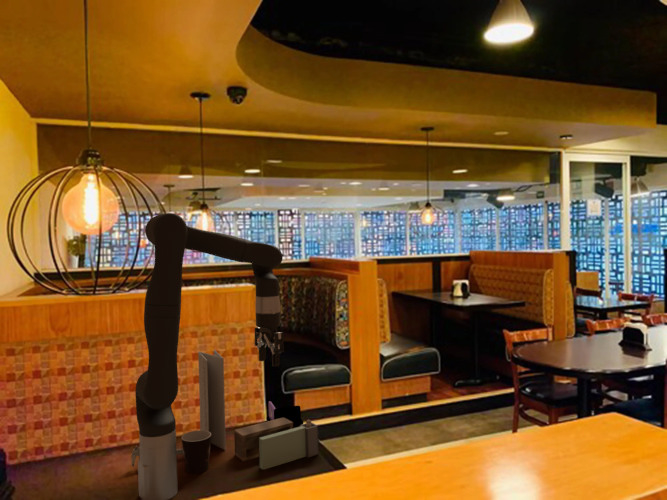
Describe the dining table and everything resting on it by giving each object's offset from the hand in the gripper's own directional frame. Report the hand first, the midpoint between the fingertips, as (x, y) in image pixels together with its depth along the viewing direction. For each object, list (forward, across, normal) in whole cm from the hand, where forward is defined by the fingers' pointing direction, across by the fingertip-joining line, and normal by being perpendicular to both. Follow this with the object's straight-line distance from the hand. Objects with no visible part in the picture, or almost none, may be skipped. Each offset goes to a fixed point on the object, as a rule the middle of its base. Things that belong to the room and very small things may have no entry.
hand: (269, 363), depth 155 cm
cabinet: (+30, -8, +2) cm, 31 cm away
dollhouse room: (+30, -27, +21) cm, 46 cm away
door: (+30, +3, +2) cm, 30 cm away
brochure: (+30, -24, -9) cm, 40 cm away
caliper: (+31, -20, -25) cm, 45 cm away
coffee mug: (+30, -10, -19) cm, 37 cm away
